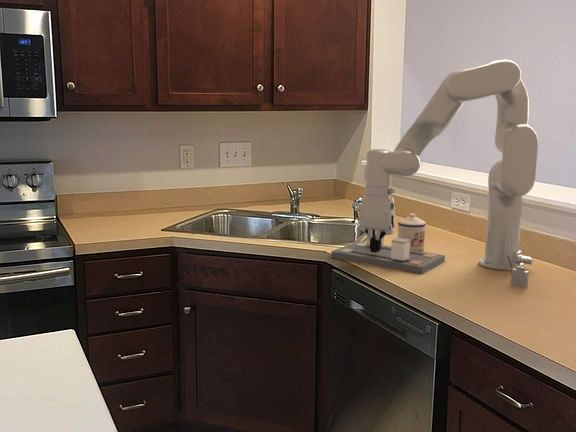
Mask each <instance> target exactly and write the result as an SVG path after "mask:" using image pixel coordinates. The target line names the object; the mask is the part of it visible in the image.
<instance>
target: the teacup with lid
mask: <svg viewBox="0 0 576 432" xmlns="http://www.w3.org/2000/svg"><path fill="white" fill-rule="evenodd" d="M426 223H427V222H426V220H423V219H421V218H419V217H417V216H416V213H409V214H408V216H406V217H404V218H402V219H398V221H397V225H398V226H397V227H398V228H397V238H403V239H410V250H415V251H421V252H423V250H424V249H425V237H426V236H425V235H426V225H427V224H426Z"/></svg>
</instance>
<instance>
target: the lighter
mask: <svg viewBox="0 0 576 432" xmlns="http://www.w3.org/2000/svg"><path fill="white" fill-rule="evenodd" d="M502 259H503V261H504V264H505V267H506V269H507V270H506V271H507V272H508V271H511V275H510V276H511V277H510V284H509V285H510V286H513V287H518V288H521V289H522V288H523V289H527V288H528V284H529V275H530V271H528V270H526V268H525V266H523V267H520V266H517V267H516V269H514V267H513V264H512V261H511V259H510V256H509V254H507V255H504V256H502Z"/></svg>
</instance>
